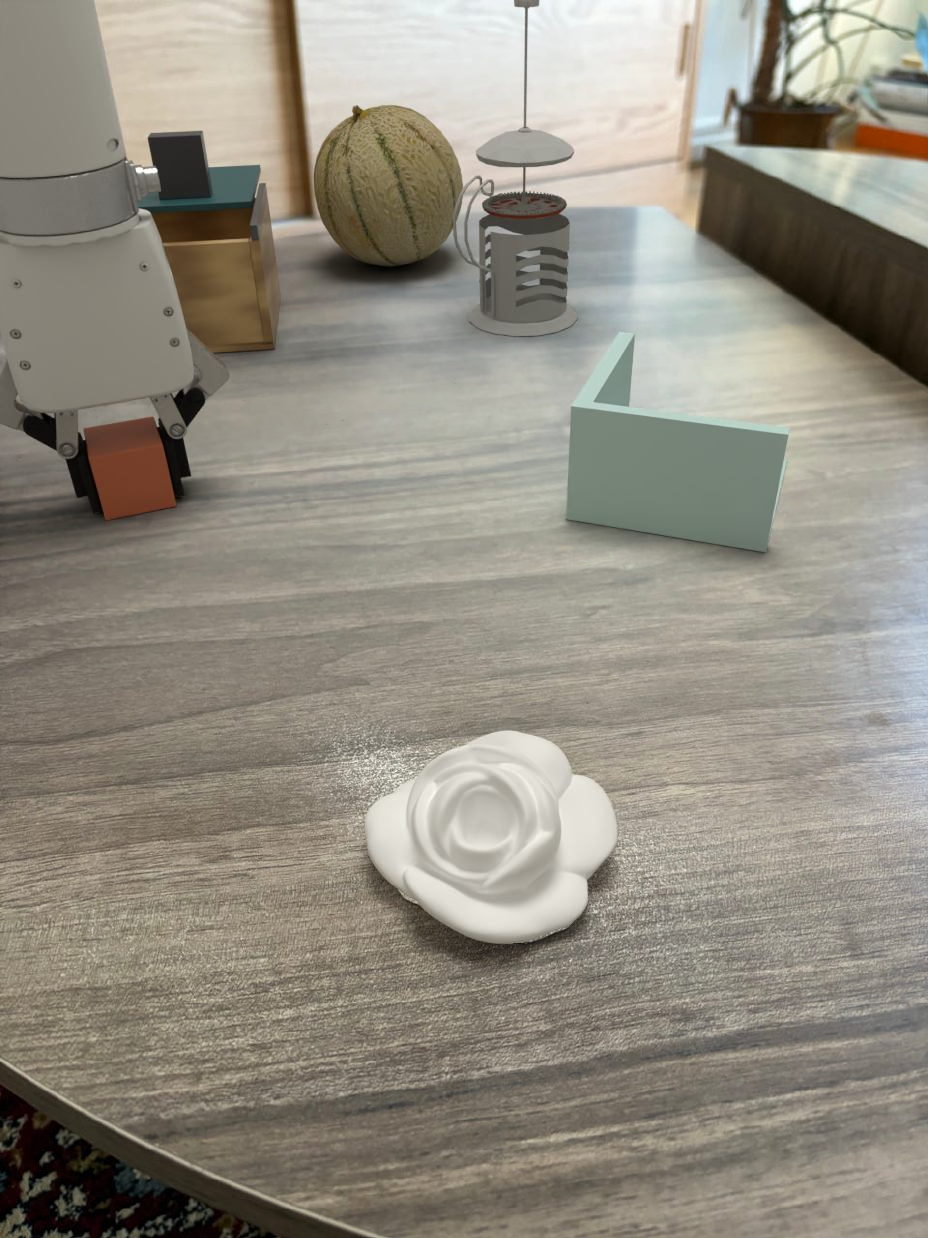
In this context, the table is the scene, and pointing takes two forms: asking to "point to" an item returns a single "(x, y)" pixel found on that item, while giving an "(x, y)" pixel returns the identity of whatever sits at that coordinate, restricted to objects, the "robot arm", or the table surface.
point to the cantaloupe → (387, 185)
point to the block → (129, 467)
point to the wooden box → (225, 274)
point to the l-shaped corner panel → (669, 465)
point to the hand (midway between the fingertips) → (136, 492)
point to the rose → (495, 838)
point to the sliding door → (195, 177)
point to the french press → (521, 236)
